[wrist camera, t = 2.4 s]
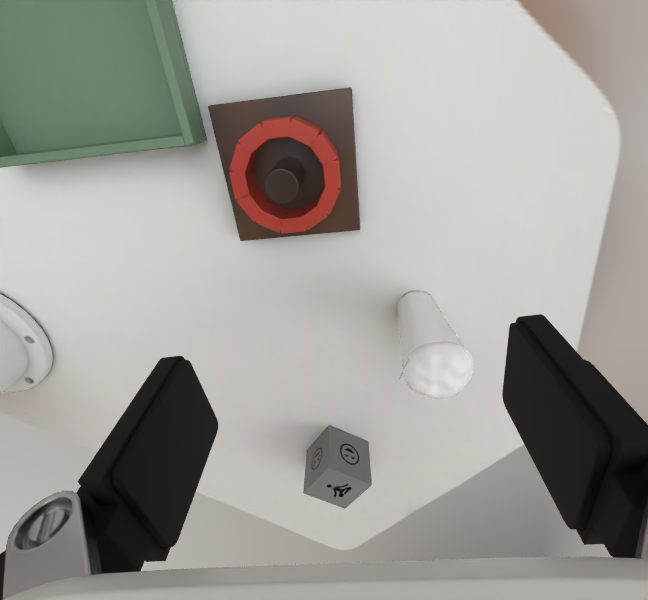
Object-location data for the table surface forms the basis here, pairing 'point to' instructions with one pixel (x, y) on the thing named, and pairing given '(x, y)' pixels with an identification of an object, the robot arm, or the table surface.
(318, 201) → the ring
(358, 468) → the dice cube
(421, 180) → the table surface
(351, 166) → the ring holder
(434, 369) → the milkshake
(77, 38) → the tray
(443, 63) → the table surface
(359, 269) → the table surface
